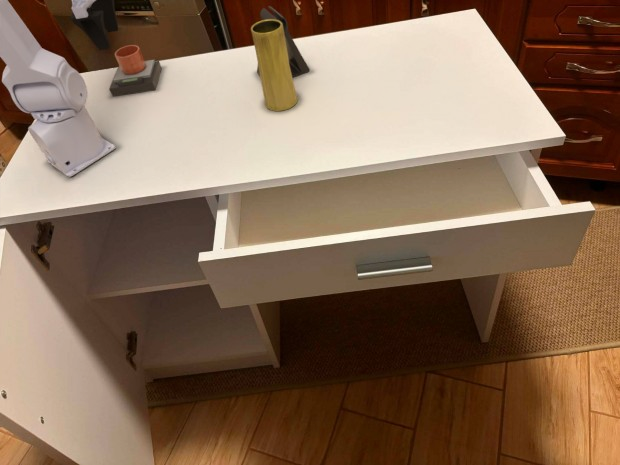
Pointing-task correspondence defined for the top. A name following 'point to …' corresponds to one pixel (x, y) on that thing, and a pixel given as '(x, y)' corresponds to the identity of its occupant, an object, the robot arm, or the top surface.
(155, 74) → the scale
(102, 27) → the robot arm
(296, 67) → the phone stand
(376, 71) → the top surface
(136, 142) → the top surface
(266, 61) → the vase
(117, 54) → the cup
